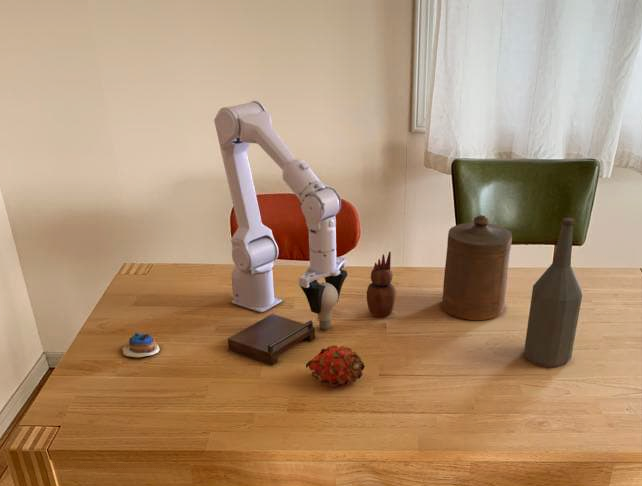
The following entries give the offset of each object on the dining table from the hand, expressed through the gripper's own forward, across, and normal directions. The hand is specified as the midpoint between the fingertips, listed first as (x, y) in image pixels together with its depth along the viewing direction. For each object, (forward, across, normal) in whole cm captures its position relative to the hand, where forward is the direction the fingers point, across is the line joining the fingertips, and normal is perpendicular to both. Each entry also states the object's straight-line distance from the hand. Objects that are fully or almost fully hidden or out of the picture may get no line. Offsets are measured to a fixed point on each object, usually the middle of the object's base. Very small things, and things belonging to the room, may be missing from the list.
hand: (324, 307), depth 176 cm
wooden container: (+6, +30, -22) cm, 38 cm away
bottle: (+6, +17, -47) cm, 50 cm away
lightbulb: (+6, 0, 0) cm, 6 cm away
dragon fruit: (+6, -18, -16) cm, 25 cm away
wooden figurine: (+6, +14, -6) cm, 16 cm away
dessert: (+6, -31, +26) cm, 41 cm away
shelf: (+5, -12, +5) cm, 15 cm away
